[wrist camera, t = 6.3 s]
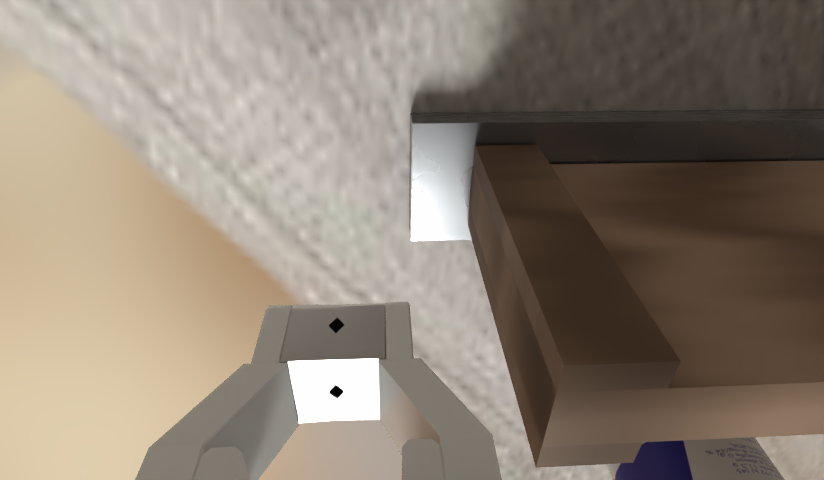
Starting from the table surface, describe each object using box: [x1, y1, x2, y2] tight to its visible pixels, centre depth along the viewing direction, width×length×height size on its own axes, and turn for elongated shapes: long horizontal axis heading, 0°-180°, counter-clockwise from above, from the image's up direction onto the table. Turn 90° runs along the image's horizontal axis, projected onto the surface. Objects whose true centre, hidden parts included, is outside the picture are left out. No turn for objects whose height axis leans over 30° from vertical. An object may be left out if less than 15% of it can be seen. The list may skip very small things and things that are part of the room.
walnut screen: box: [468, 145, 824, 467], centre depth 13 cm, size 15×3×9 cm, turn 89°
